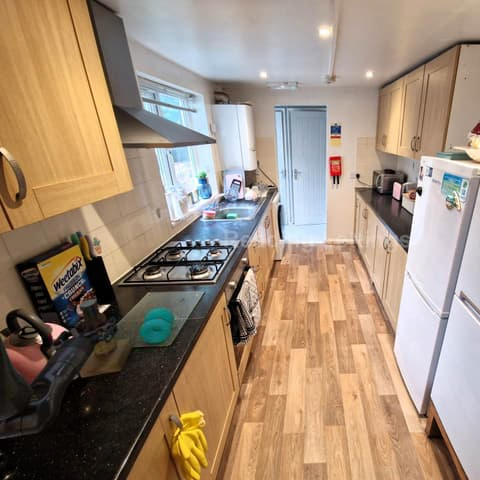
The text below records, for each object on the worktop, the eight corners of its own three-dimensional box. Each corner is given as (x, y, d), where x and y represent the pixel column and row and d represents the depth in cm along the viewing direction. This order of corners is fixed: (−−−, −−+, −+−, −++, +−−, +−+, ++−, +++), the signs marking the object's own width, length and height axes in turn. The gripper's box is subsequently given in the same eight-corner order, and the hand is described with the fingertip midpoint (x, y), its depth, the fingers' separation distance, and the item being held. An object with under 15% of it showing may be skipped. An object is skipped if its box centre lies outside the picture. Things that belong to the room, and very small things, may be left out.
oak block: (81, 377, 84) (77, 368, 83) (98, 352, 94) (94, 343, 92) (121, 370, 87) (117, 361, 85) (133, 346, 97) (130, 338, 95)
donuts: (176, 324, 108) (172, 304, 104) (172, 341, 99) (167, 320, 96) (148, 329, 105) (143, 309, 101) (142, 347, 96) (135, 325, 92)
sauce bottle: (98, 347, 91) (79, 298, 84) (119, 342, 93) (103, 294, 86) (91, 361, 85) (70, 310, 78) (114, 355, 88) (96, 305, 80)
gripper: (96, 343, 72) (120, 308, 87) (32, 353, 69) (68, 315, 83) (104, 363, 75) (126, 326, 90) (42, 374, 71) (76, 334, 86)
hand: (98, 321), depth 86 cm, fingers open, 8 cm apart
